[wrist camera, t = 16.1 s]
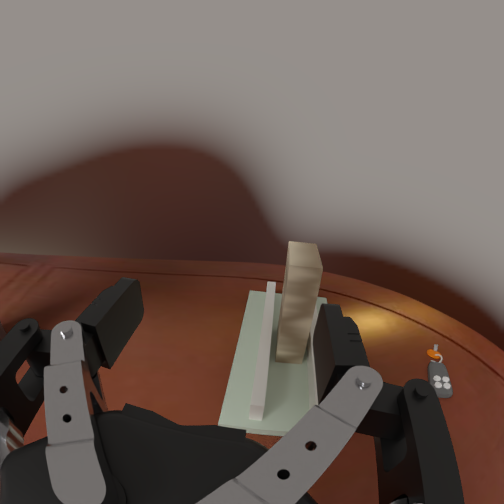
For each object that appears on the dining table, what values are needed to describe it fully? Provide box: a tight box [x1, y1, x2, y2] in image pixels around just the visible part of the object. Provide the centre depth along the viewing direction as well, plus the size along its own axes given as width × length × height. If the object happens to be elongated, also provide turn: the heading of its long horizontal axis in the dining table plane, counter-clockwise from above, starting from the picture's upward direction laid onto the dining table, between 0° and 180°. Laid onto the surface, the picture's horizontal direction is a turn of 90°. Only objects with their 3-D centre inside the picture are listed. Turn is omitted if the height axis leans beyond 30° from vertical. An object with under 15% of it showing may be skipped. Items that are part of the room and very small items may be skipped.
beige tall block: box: [275, 241, 323, 364], centre depth 29 cm, size 3×6×12 cm, turn 173°
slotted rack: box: [218, 281, 327, 436], centre depth 31 cm, size 24×12×4 cm, turn 174°
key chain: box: [427, 344, 453, 398], centre depth 28 cm, size 13×4×2 cm, turn 159°
